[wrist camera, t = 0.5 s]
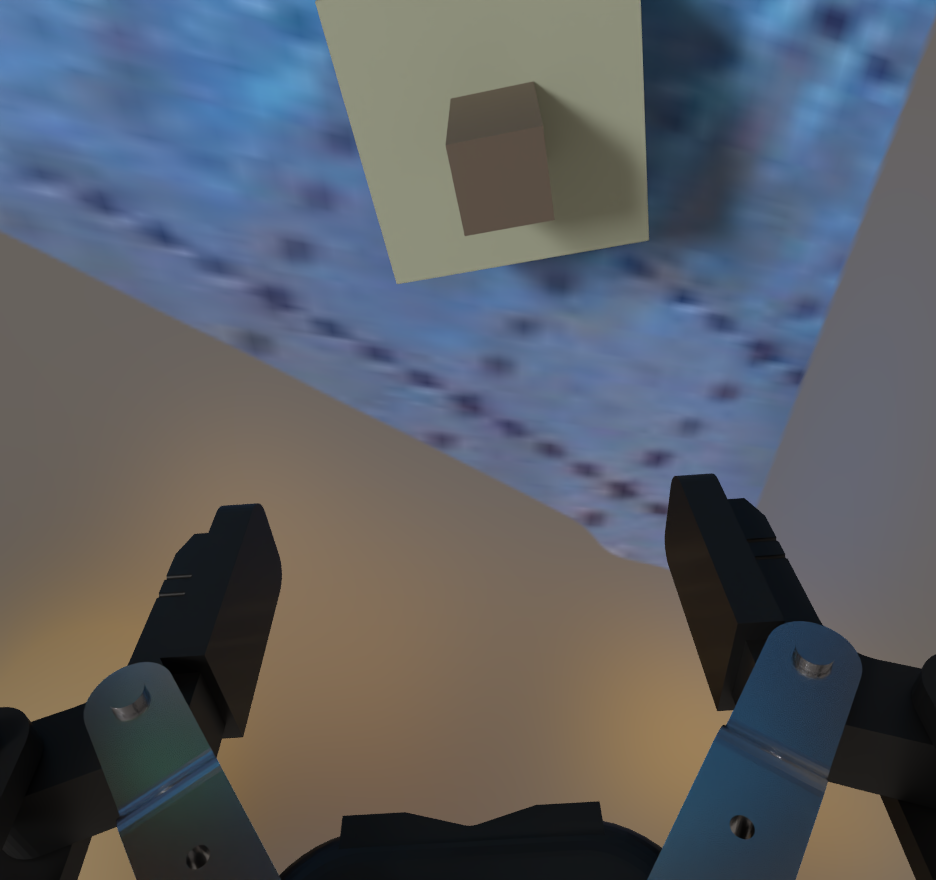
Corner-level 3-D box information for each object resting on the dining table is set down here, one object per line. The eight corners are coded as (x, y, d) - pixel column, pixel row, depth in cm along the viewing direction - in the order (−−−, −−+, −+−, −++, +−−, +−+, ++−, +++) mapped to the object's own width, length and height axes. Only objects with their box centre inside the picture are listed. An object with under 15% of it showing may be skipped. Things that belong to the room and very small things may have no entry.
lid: (319, -3, 24) (283, 33, 20) (634, -77, 23) (670, -55, 18) (398, 275, 31) (385, 349, 27) (645, 232, 30) (674, 302, 25)
